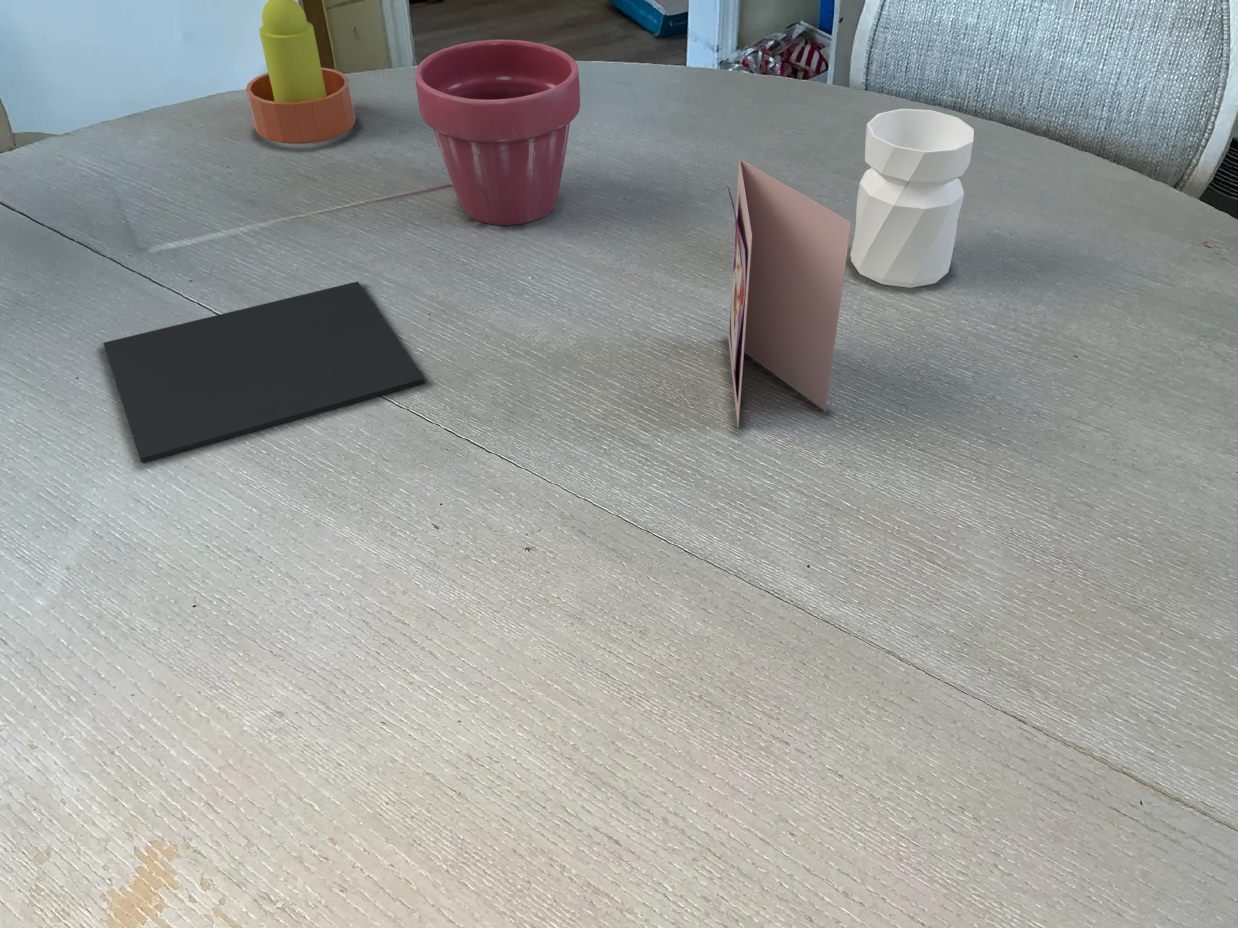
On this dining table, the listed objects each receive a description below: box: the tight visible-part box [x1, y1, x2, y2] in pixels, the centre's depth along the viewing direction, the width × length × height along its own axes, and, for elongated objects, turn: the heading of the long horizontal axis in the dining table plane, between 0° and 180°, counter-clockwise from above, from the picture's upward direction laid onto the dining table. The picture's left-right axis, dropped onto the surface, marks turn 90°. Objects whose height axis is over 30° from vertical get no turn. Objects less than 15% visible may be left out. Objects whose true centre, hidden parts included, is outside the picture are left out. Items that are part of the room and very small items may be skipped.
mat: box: [102, 281, 425, 463], centre depth 83 cm, size 20×16×1 cm
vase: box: [849, 108, 975, 289], centre depth 93 cm, size 9×9×12 cm
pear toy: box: [258, 0, 326, 102], centre depth 111 cm, size 5×5×14 cm
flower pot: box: [414, 39, 581, 226], centre depth 100 cm, size 14×14×13 cm
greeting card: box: [726, 158, 852, 429], centre depth 78 cm, size 11×7×15 cm, turn 1°
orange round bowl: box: [245, 66, 357, 144], centre depth 115 cm, size 10×10×4 cm
